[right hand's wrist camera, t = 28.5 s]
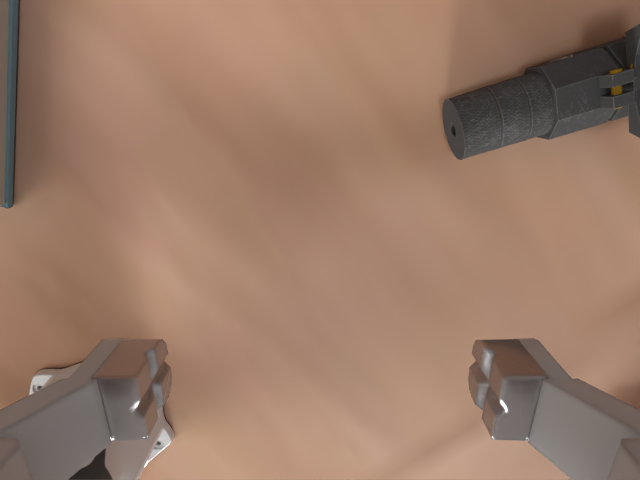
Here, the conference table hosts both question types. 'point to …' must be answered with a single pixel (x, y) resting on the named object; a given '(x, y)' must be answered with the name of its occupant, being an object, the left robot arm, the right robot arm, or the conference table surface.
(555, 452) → the right robot arm
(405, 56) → the conference table surface
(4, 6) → the book
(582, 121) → the laser sight
